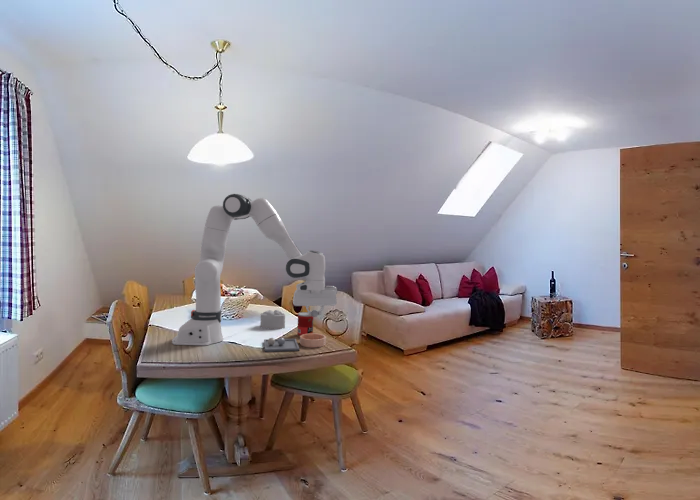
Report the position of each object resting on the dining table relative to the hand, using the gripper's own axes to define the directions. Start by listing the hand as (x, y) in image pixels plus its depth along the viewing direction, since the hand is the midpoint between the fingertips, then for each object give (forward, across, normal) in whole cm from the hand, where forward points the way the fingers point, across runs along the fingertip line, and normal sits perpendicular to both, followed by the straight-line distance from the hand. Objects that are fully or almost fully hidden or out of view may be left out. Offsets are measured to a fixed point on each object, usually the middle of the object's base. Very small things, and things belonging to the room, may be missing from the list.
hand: (314, 315), depth 194 cm
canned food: (+14, +2, -19) cm, 24 cm away
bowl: (+14, 0, -2) cm, 14 cm away
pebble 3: (-1, 0, 0) cm, 1 cm away
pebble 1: (+12, +20, 0) cm, 23 cm away
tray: (+14, +15, 0) cm, 21 cm away
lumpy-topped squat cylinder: (+14, +17, -38) cm, 44 cm away
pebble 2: (+12, +15, 0) cm, 19 cm away
